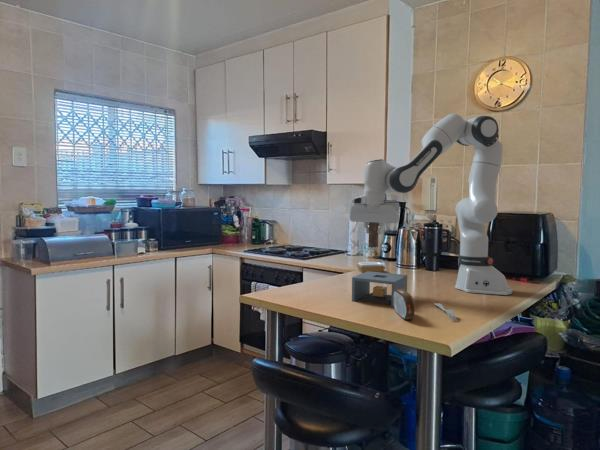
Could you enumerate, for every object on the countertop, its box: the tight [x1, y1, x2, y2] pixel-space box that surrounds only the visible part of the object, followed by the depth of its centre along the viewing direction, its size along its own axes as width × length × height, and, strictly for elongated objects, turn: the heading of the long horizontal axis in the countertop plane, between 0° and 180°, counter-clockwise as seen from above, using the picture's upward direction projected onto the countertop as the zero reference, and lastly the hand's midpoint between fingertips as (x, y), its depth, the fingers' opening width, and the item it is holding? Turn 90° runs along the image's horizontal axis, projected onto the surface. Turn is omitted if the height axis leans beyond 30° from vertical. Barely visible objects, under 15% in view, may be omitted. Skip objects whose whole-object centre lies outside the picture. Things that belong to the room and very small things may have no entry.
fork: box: [433, 302, 458, 322], centre depth 151 cm, size 3×21×3 cm, turn 178°
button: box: [372, 285, 388, 297], centre depth 169 cm, size 4×4×3 cm
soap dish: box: [356, 261, 386, 274], centre depth 230 cm, size 12×10×5 cm
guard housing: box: [351, 271, 408, 308], centre depth 168 cm, size 16×16×9 cm
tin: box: [393, 289, 415, 321], centre depth 146 cm, size 15×3×8 cm, turn 4°
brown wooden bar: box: [368, 222, 380, 248], centre depth 183 cm, size 3×3×14 cm
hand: (373, 233), depth 183 cm, fingers closed on brown wooden bar, 3 cm apart
